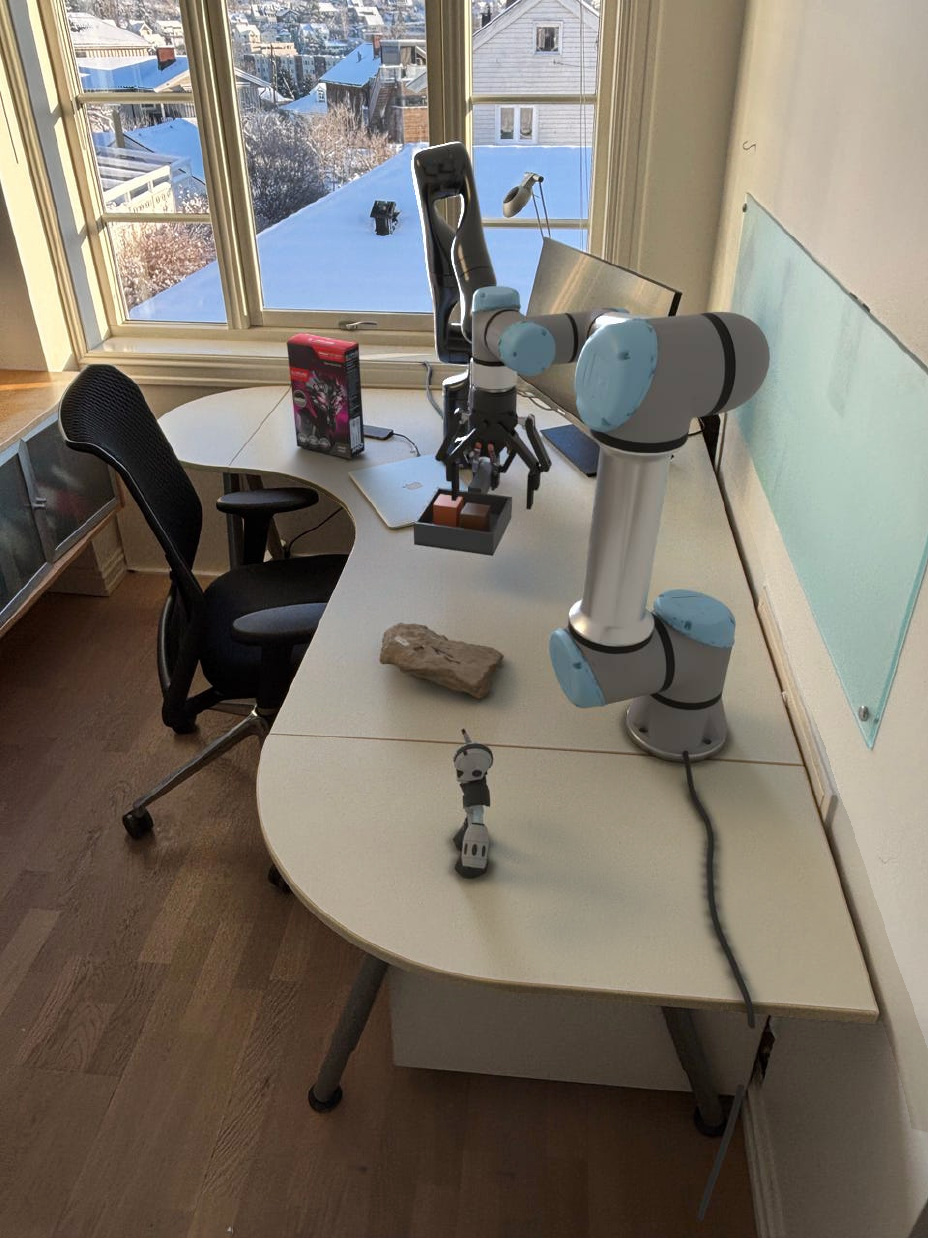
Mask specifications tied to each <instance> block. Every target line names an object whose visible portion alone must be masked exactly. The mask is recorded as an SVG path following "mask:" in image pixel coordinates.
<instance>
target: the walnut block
mask: <svg viewBox="0 0 928 1238" xmlns="http://www.w3.org/2000/svg"><path fill="white" fill-rule="evenodd" d="M461 528H463V529H471V530H478V531H485V532H490V505H483V504H475V503H468V502H467V503H466V505H465V507H464V509H463V510H462V512H461Z"/></svg>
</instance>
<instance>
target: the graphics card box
mask: <svg viewBox="0 0 928 1238" xmlns="http://www.w3.org/2000/svg"><path fill="white" fill-rule="evenodd" d="M286 347H287V359H288V369H289V378H290V389H291V397H292V407H293V418H294V419H293V420H294V428H295V438H296V439H295V441H296V447H299V448H303V449H307V450H310V451H315V452H320V453H323V454H324V453H325V454H329V455H332V456H336V457H341V458H346V459H353V458H354V457H356V456H358V455H360V454H362V453H363V452H365V447H366V446H365V430H364V415H363V414H364V413H363V398H362V381H361V380H362V379H361V363H360V344H359V342H351V341H346V340H342V339H341V340H340V339H336V338H330V337H325V336H319V335H314V334H308V333H304V332H300V333H298V334H295V335H293V336H292V337H290V338H289V339H288V340H287V341H286Z"/></svg>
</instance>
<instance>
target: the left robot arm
mask: <svg viewBox="0 0 928 1238" xmlns="http://www.w3.org/2000/svg"><path fill="white" fill-rule="evenodd" d="M411 172H412V179H413V185H414V190H415V195H416V200H417V205H418V210H419V214H420V215H419V216H420V221H421V227H422V235H423V244H424V253H425V254H424V255H425V263H426V264H425V265H426V272H427V279H428V283H429V290H430V297H431V303H432V311H433V328H434V329H433V330H434V344H435V345H434V346H435V353H436V357H437V360H438V361H439V363H440V364H443V365H448V366H459V367H467V369H466V370H465V371H463V372H460V373H458V374H454V375H451V376H449V377H447V378H445V379H444V380H443V382H442V409H441V408H440V407H439V405H438V404H437V403H436V401H435V400H434V398H433V396H432V394H431V391H430V378H431V374H432V368H431V365H430V364H429V362H428V361H427V360H423V361H424V362H425V363H424V362H423V361H422V365H423V366H424V365H425V366H426V367H427V374H426V379H425V390H426V394H427V397H428V400H429V401H430V402H431V404H432V406H433V407H434V408H435V410H436V411H437V412H438V413H439V414H440V416H441V417H442V442H443V441H444V439H445V437H446V435H447V433H448V431H449V430H450V428H451V426H452V421H453V414H454V413H455V411H456V410H457V409H458V408H462V409H463V411H466V412H471V411H472V387H473V386H474V385H473V383H472V315H471V312H472V305H473V295H474V293H475V292H476V291H477V290H478V289H480V288H484V287H491V286H498V283H497V282H498V281H497V277H496V273H495V270H494V267H493V263H492V260H491V257H490V253H489V250H488V245H487V242H486V237H485V236H486V235H485V232H484V225H483V218H482V213H481V207H480V206H481V205H480V200H479V196H478V190H477V183H476V179H475V174H474V168H473V164H472V161H471V157H470V154H469V151H468V149H467V148H466V146H465V145H464V143H462V142H459V141H453V142H448V143H445V144H440V145H439V144H438V145H436V146H435V145H434V146H430V147H427V148H423V149H419V150H417V151H415V152H414V154H413V155H412V160H411ZM457 197H460V198H461V214H460V218H459V222H458V226H457V228H456V230H455V229H454V228H452V226H451V225H450V224H449V223H448V222H447V221H446V220H445V219H444V217H443V216H442V215H441V213H440V212H439V210H438V208H437V206H436V203H437V202H440V201H443V200H447V199H448V200H449V199H452V198H457ZM459 303H460V309H461V310H460V312H461V313H460V314H461V315H460V323H458V322H452V321H451V316H452V314H453V312H454V311H455V309H456V307H457V306H458V304H459ZM473 429H474V427H473V426H472V424H471V423H470V421H469V420H466V421H465V423H464V424H461V426H460V427H459V429H458V431H457V433H456V435H455V437H454V439H453V441H452V443H451V444H450V446H449V448H448V450H447V452H446V453H448V454H451V453H452V452H453V451H454V450H455V449H456V448H457V447H458V446H459V444H460V443H461V442H462V441H463V440H464V439H465V438H466V437H467V436H468V435H469V434H470V433H471V432H472V431H473ZM505 448H506V454H507V457H506V459H505V461H504V463H503V464H501V452H502V451H503V450H504V449H505ZM517 455H518V454H517V453H516V451H515V450H514V449H513V448H512V446H511V445H509V444H508V443H507V442H506V440H505V439H504V440H502V441H495V440H493V439H491V440H483V438H481V437H480V436H478V437H477V439H476V440H475V441H474V442H472V443H471V444H470V446H469V447H468V448H467V449H466V450H465V451H464V452H463V453H462V454H461V455H460V456H459V457H458V458H457V459H456V460H455V461H459V469H469V470H470V471H471V472H472V474H471V475H472V476H471V478H472V479H473V477H474V476H475V474H476V472H477V471H478V469H479V467H480V466H481V464H482V459H483V458H488V459H489V462H490V464H491V467H492V480H491V488H490V491H493V492H495V491H496V490H497V489H498V488H499V486H500V484H501V474H506V473H507V471H508V470H509V468H510V467H511V465H512V463H513V461H514V459H515V458H516V456H517ZM455 461H454V462H455ZM442 463H443V464H444V465H445V463H444V462H442ZM472 479H471V480H472Z"/></svg>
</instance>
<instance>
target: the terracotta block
mask: <svg viewBox="0 0 928 1238" xmlns="http://www.w3.org/2000/svg"><path fill="white" fill-rule="evenodd" d="M462 510H463V497H459V496H458V498H457V500H456V501H452V496H451V495H444V494H440V495H439V497H438V498H437V500H436V501H435V503H434V504H433V513H434V525H442V526H449V527H456V528H461V512H462Z"/></svg>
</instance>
